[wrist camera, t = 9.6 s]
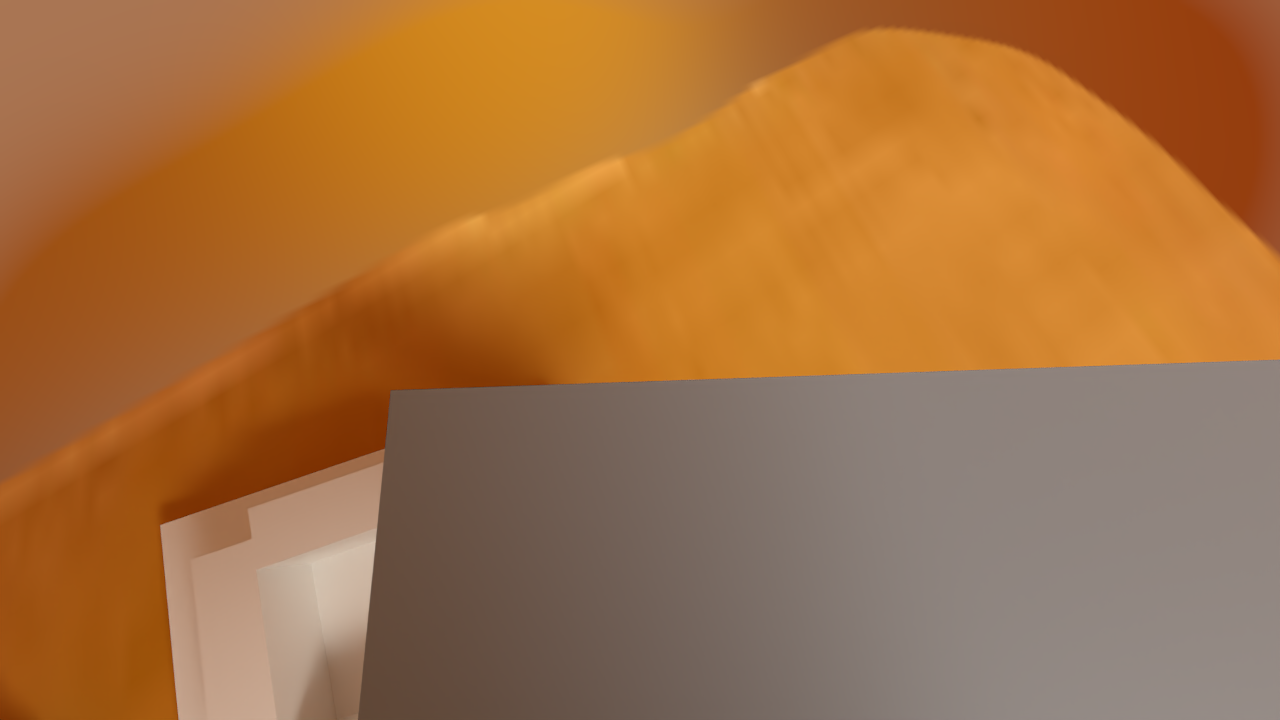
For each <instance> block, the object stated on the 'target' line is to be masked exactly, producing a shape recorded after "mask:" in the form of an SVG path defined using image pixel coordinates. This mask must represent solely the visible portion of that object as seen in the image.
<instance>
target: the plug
mask: <svg viewBox="0 0 1280 720" xmlns="http://www.w3.org/2000/svg"><path fill="white" fill-rule="evenodd" d="M358 720H1280V360H1259V361H1230V362H1201V363H1171V364H1142V365H1113V366H1084V367H1055V368H1026V369H996V370H967V371H938V372H909V373H880V374H851V375H822V376H792V377H763V378H734V379H705V380H676V381H647V382H618V383H588V384H559V385H530V386H501V387H472V388H443V389H413V390H391V393H390V403H389V413H388V423H387V433H386V443H385V453H384V463H383V473H382V483H381V493H380V503H379V513H378V523H377V533H376V543H375V553H374V563H373V573H372V583H371V593H370V603H369V613H368V623H367V633H366V643H365V653H364V663H363V673H362V683H361V693H360V703H359V713H358Z"/></svg>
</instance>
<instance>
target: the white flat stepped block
mask: <svg viewBox="0 0 1280 720" xmlns="http://www.w3.org/2000/svg"><path fill="white" fill-rule="evenodd" d="M384 453H385V449H382V450H379V451H376V452H373V453H370V454H367V455H364V456H361V457H358V458H355V459H353V460H350V461H347V462H344V463H341V464H338V465H335V466H332V467H329V468H326V469H323V470H320V471H317V472H314V473H311V474H309V475H306V476H303V477H300V478H297V479H294V480H291V481H288V482H285V483H282V484H279V485H276V486H273V487H270V488H267V489H265V490H262V491H259V492H256V493H253V494H250V495H247V496H244V497H241V498H238V499H235V500H232V501H229V502H226V503H223V504H221V505H218V506H215V507H212V508H209V509H206V510H203V511H200V512H197V513H194V514H191V515H188V516H185V517H182V518H179V519H176V520H174V521H171V522H168V523H165V524H162V525H160V528H161V539H162V549H163V560H164V571H165V581H166V592H167V602H168V613H169V623H170V634H171V645H172V655H173V666H174V676H175V687H176V697H177V708H178V719H179V720H358V713H359V703H360V693H361V683H362V673H363V663H364V653H365V643H366V633H367V623H368V613H369V603H370V593H371V583H372V573H373V563H374V553H375V543H376V533H377V523H378V513H379V503H380V493H381V483H382V473H383V463H384Z"/></svg>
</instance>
